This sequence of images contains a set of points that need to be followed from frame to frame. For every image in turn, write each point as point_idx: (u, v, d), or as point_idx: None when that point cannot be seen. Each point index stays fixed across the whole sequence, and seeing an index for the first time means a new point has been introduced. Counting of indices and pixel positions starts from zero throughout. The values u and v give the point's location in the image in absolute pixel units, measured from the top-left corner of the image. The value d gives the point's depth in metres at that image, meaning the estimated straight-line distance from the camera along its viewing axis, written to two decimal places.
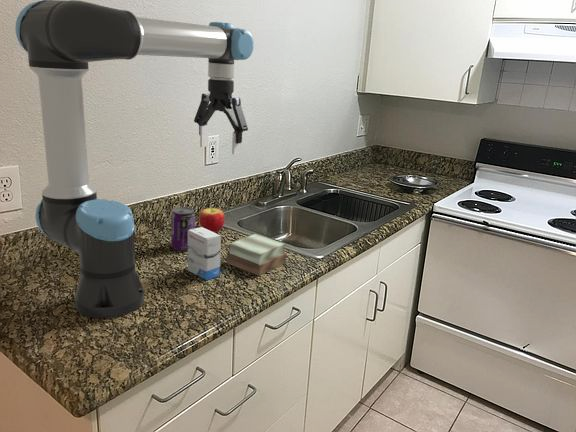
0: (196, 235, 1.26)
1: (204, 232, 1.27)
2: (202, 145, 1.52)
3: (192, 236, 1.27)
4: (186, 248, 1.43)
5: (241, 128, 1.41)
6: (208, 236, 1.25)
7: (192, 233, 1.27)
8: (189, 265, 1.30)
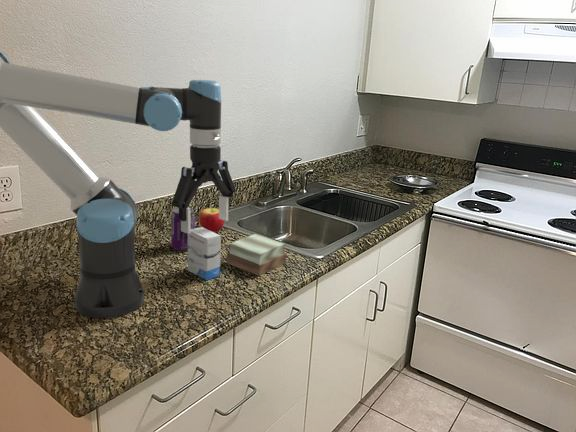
0: (196, 235, 1.26)
1: (204, 232, 1.27)
2: (220, 217, 1.32)
3: (192, 236, 1.27)
4: (186, 248, 1.43)
5: None
6: (208, 236, 1.24)
7: (192, 233, 1.27)
8: (189, 265, 1.30)
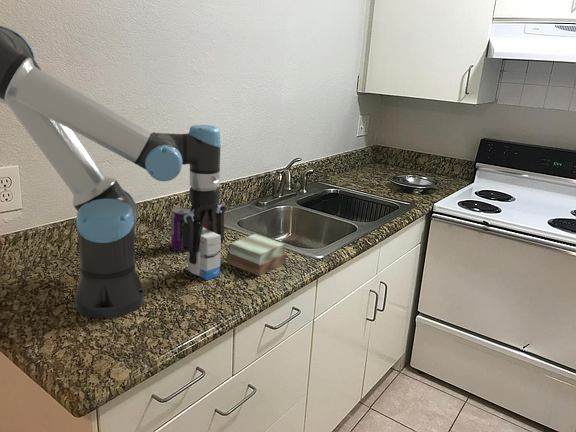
0: None
1: (204, 232, 1.27)
2: None
3: None
4: None
5: None
6: (208, 236, 1.24)
7: None
8: (189, 265, 1.30)
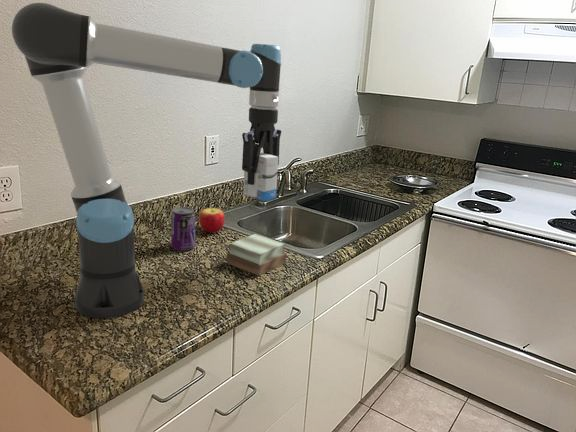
0: None
1: (262, 154, 1.29)
2: None
3: None
4: (186, 248, 1.43)
5: None
6: (267, 156, 1.26)
7: None
8: (245, 188, 1.32)
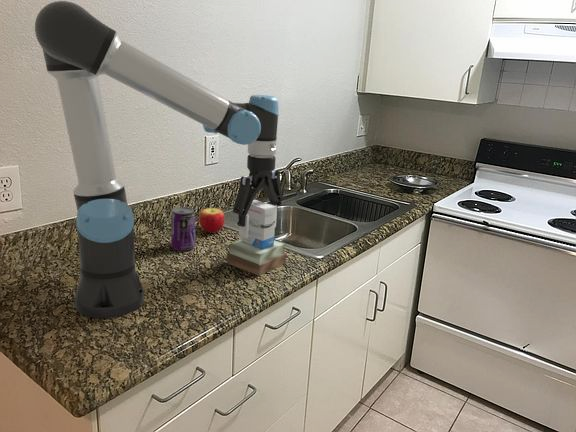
0: (253, 206, 1.32)
1: (260, 203, 1.34)
2: None
3: None
4: (186, 248, 1.43)
5: None
6: (265, 207, 1.31)
7: None
8: None
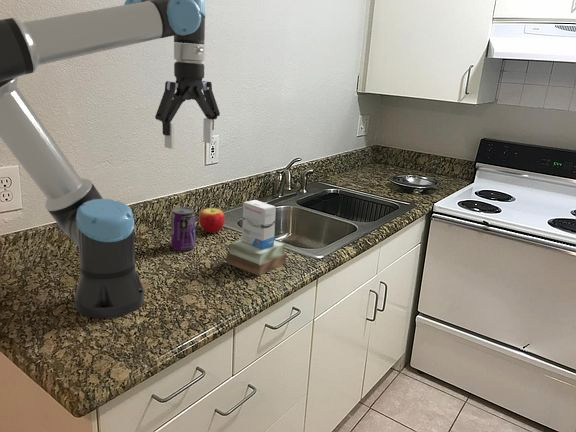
0: (253, 206, 1.32)
1: (260, 203, 1.34)
2: (204, 140, 1.34)
3: (248, 207, 1.34)
4: (186, 248, 1.43)
5: None
6: (265, 207, 1.31)
7: (248, 205, 1.33)
8: (244, 236, 1.37)
